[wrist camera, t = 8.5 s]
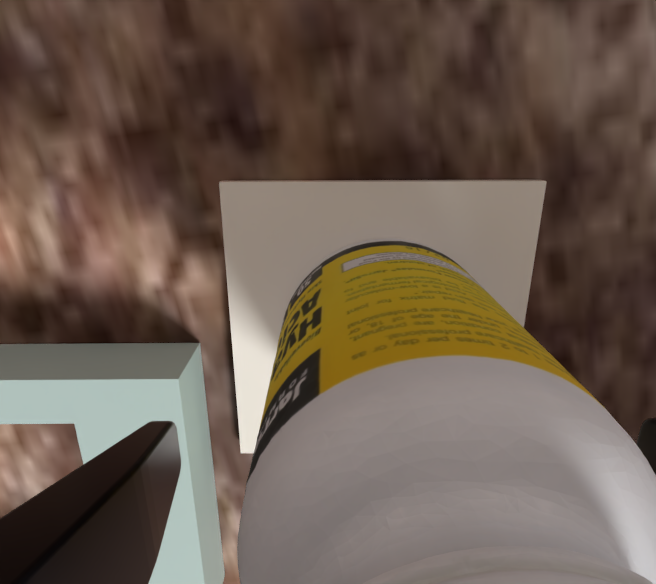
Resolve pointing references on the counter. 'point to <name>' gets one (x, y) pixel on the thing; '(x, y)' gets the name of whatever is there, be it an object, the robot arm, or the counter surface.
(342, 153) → the counter surface
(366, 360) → the supplement bottle
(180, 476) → the holder block
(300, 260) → the white square tile
